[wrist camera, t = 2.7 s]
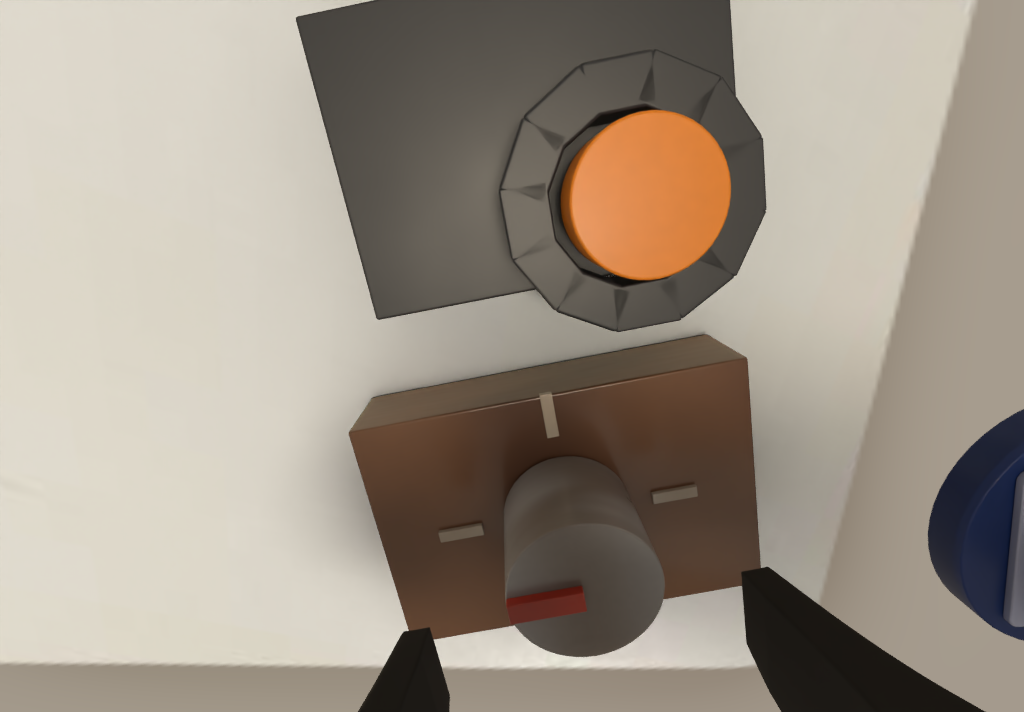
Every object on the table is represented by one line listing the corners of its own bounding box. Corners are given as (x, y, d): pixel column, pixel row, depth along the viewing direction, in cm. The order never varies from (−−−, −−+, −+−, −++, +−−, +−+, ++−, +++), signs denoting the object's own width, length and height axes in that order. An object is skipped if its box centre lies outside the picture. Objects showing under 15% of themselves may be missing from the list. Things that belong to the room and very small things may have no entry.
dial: (621, 444, 15) (660, 517, 12) (637, 554, 16) (677, 653, 13) (492, 468, 15) (490, 548, 12) (516, 576, 17) (521, 679, 13)
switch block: (693, -34, 15) (763, -123, 11) (717, 281, 17) (781, 301, 13) (323, 43, 15) (261, -16, 11) (400, 342, 17) (373, 379, 14)
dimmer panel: (706, 330, 18) (750, 355, 15) (724, 530, 20) (765, 588, 17) (371, 394, 18) (345, 431, 15) (425, 584, 20) (412, 650, 17)
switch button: (695, 109, 12) (726, 93, 11) (707, 257, 13) (737, 264, 12) (548, 139, 12) (557, 127, 11) (571, 284, 13) (582, 294, 12)
